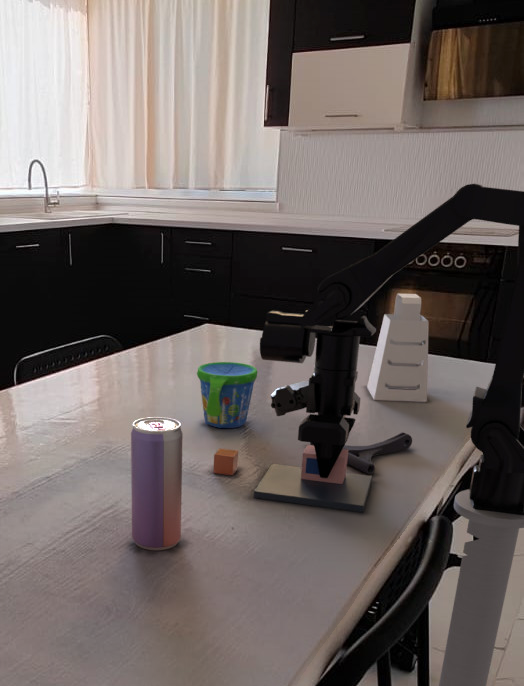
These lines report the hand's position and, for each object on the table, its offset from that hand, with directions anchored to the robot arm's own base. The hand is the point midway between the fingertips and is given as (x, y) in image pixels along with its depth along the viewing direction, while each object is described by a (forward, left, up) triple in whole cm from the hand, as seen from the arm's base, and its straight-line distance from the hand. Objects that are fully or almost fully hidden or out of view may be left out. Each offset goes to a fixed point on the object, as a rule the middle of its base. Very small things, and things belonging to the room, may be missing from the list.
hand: (326, 472), depth 112 cm
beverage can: (+17, +27, -2) cm, 32 cm away
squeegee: (-5, -16, -2) cm, 17 cm away
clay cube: (+15, 0, -2) cm, 15 cm away
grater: (-6, -57, -2) cm, 57 cm away
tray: (+1, +3, -2) cm, 4 cm away
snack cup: (+22, -24, -2) cm, 32 cm away
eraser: (0, 0, -1) cm, 1 cm away
